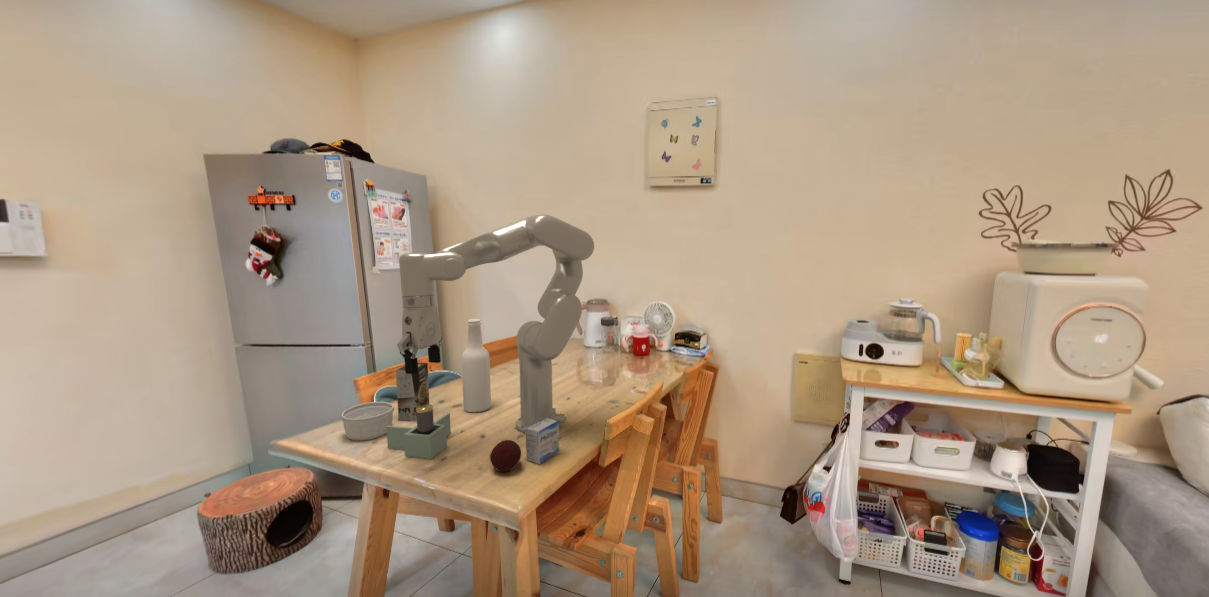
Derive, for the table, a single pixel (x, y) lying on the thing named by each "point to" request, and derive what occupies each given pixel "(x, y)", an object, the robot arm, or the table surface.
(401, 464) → the table surface
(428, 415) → the cylindrical canister
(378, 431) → the ramekin
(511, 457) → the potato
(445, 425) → the grey-green frame piece
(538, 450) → the medicine box
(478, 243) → the robot arm
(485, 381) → the alcohol
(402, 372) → the coffee box
